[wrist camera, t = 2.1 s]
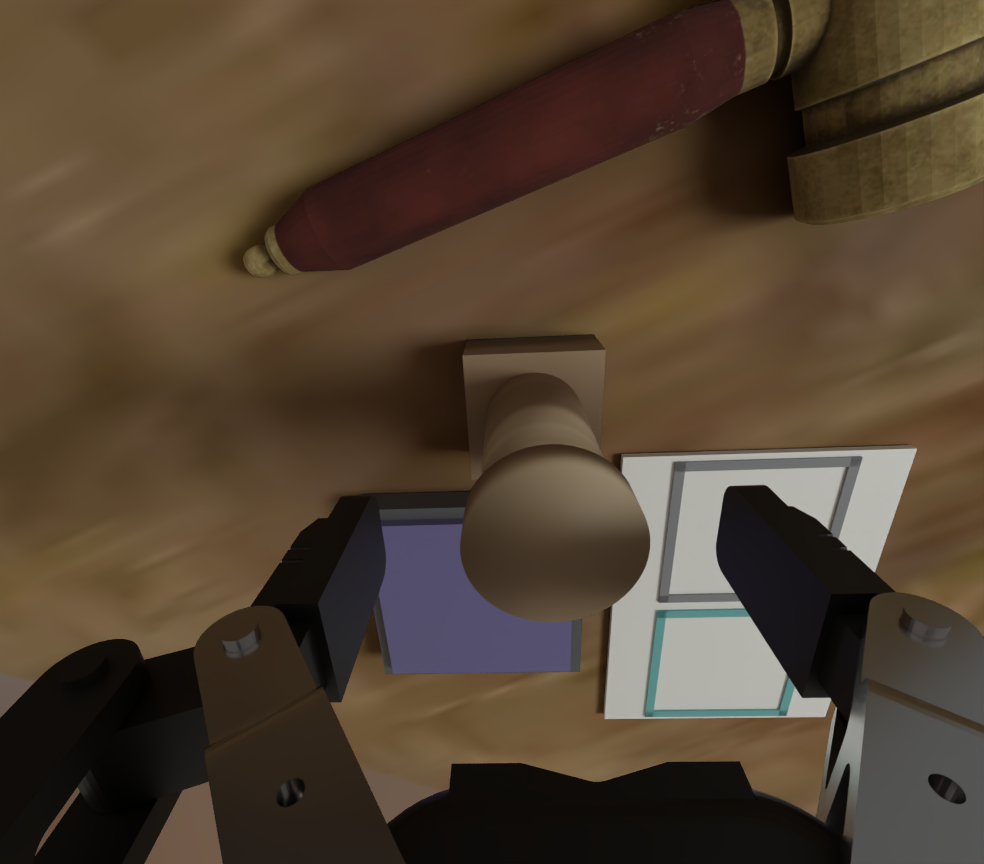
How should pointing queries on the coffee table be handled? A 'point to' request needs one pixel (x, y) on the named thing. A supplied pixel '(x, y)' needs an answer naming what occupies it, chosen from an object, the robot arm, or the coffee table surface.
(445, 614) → the ink pad
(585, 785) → the robot arm
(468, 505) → the stamp
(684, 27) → the gavel
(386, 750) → the coffee table surface
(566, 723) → the coffee table surface
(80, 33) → the coffee table surface
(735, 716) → the sheet
